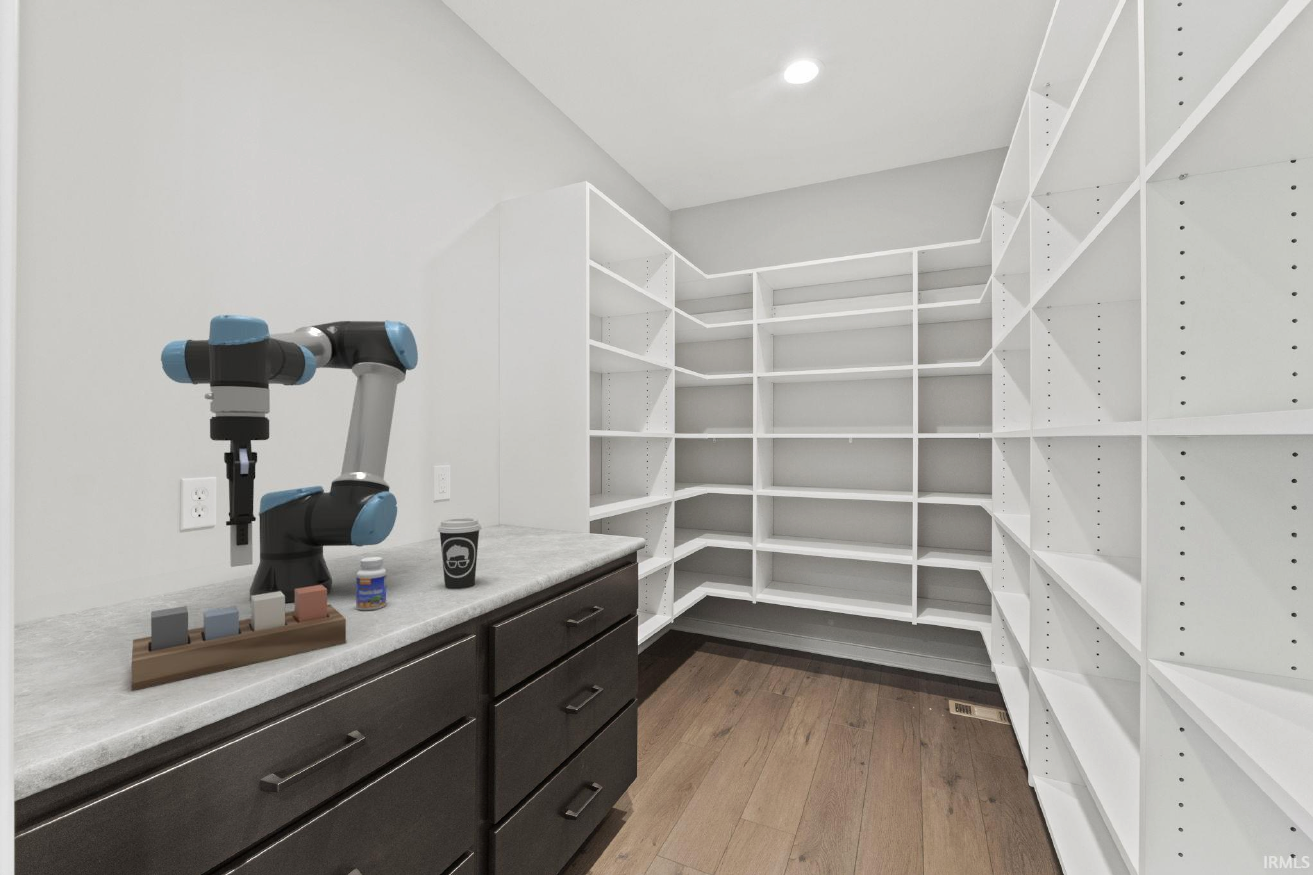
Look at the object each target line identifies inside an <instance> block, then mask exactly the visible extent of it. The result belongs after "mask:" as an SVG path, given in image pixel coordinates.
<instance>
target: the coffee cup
mask: <svg viewBox="0 0 1313 875" xmlns="http://www.w3.org/2000/svg"><path fill="white" fill-rule="evenodd" d="M478 520H479V519H478V518H470V517H460V518H450V519H449V518H448V519H443V520H441V522H440V525H439V526H438V529H437V532H439V538H440V547H441V557H442V567H443V568H442V569H443V582H444V587H445V589H449V590H461V589H467V588H472V587H473V586H474V585H475V584H476V570H477V560H478V559H477V558H478V548H479V538H480V537H479V536H480V530H482V526H481V524H480V523H479V521H478Z"/></svg>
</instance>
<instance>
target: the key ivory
mask: <svg viewBox="0 0 1313 875" xmlns="http://www.w3.org/2000/svg"><path fill="white" fill-rule="evenodd" d="M250 610H251V611H250V615H251V616H250V619H251V627H252V629H253V631H259V630H264V629H269V628H274V627H280V626H285V612H286V602H285V596H284V595H283V593H282V592H281V591H278V592H272V593H266V594H259V595H253V596H251V600H250Z"/></svg>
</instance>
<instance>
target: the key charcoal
mask: <svg viewBox="0 0 1313 875" xmlns="http://www.w3.org/2000/svg"><path fill="white" fill-rule="evenodd" d="M150 615H151V619H150V620H151V621H150V626H151V627H150V628H151V630H150V632H151V633H150V634H151V636H150V637H151V651H155V650H160V649H166V648H171V647H176V646H181V645H186V644H188V630H189V610H188V606H187V605H184V606H177V607H172V608H165V609H160V610H153V611H150Z"/></svg>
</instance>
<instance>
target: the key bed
mask: <svg viewBox="0 0 1313 875" xmlns="http://www.w3.org/2000/svg"><path fill="white" fill-rule="evenodd" d="M346 622H347V619H346V617H344V616H343V614H342V613H340V612H339V611H338V610H337V609H336V608H335V607H334V606H332V605H331V604H330V603H329V604H327V617H326V618H321V619H316V620H311V621H305V622H300V623H298V622H297V621H296V619H295V610H292V611H291V610H290V611H285V626H280V627H274V628H269V629H264V630H259V631H253V629H252V627H251V618H247V619H241V620H240V619H239V634H238V635H233V636H228V637H223V638H217V639H212V640H207V641H204V626H202V627H197V628H191V629H188V644H186V645H181V646H176V647H171V648H166V649H160V650H155V651H151V636H145V637H140V638H135V639H133V640H132V650H131V691H133V692H134V691H138V690H142V689H146V688H150V687H151V688H152V687H156V686H159V685H164V684H167V683H172V682H178V681H183V680H186V679H190V678H195V677H200V676H205V675H209V674H212V673H217V672H221V671H222V672H223V671H225V670H232V669H235V668H240V667H243V666H244V667H245V666H249V665H253V664H257V663H262V662H266V661H270V660H271V661H272V660H275V659H280V658H285V657H289V656H293V655H297V654H301V653H306V652H311V651H315V650H320V649H324V648H325V649H326V648H329V647H333V646H337V645H341V644H345V643H347V623H346Z"/></svg>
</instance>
